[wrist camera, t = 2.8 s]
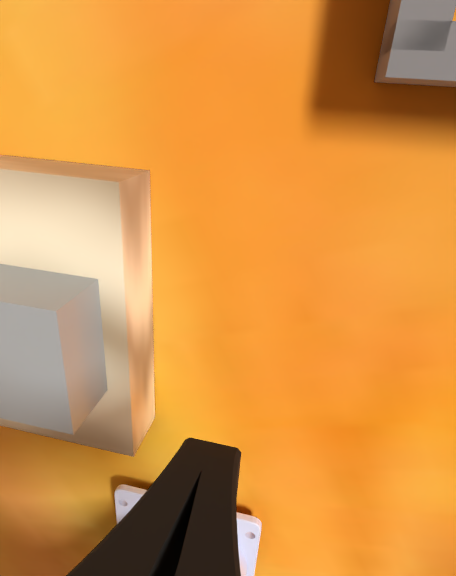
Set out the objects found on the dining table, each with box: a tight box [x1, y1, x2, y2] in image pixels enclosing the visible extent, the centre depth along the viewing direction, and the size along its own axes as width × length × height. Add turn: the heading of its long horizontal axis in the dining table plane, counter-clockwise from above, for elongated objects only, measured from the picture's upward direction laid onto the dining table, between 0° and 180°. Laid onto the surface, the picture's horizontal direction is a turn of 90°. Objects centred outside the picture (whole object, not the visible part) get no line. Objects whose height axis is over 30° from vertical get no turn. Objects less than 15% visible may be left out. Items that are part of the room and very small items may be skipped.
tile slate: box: [0, 264, 108, 435], centre depth 15 cm, size 5×5×2 cm
